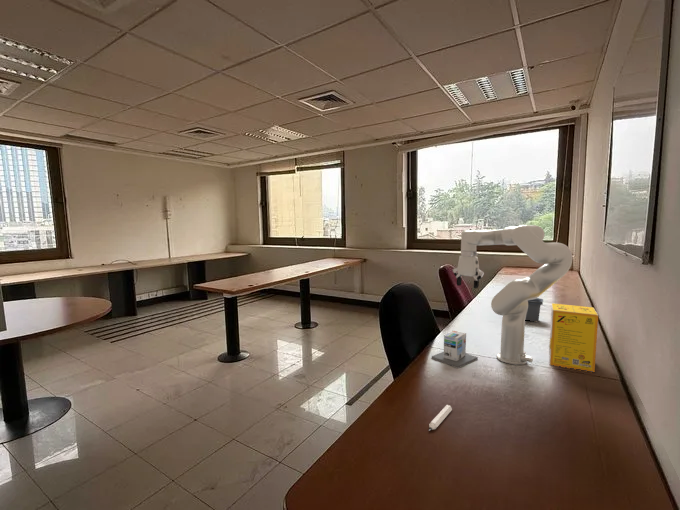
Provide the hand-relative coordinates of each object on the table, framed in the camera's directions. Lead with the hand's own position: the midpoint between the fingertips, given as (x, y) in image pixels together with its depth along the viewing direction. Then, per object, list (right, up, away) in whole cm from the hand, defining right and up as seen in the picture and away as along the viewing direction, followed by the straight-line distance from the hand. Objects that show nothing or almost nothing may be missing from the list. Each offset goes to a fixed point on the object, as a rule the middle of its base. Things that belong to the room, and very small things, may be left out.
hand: (467, 286), depth 178 cm
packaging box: (+38, -33, -23) cm, 55 cm away
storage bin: (+57, -27, +50) cm, 80 cm away
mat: (-13, -32, -19) cm, 40 cm away
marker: (-35, -37, -70) cm, 87 cm away
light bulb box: (-13, -31, -19) cm, 39 cm away
